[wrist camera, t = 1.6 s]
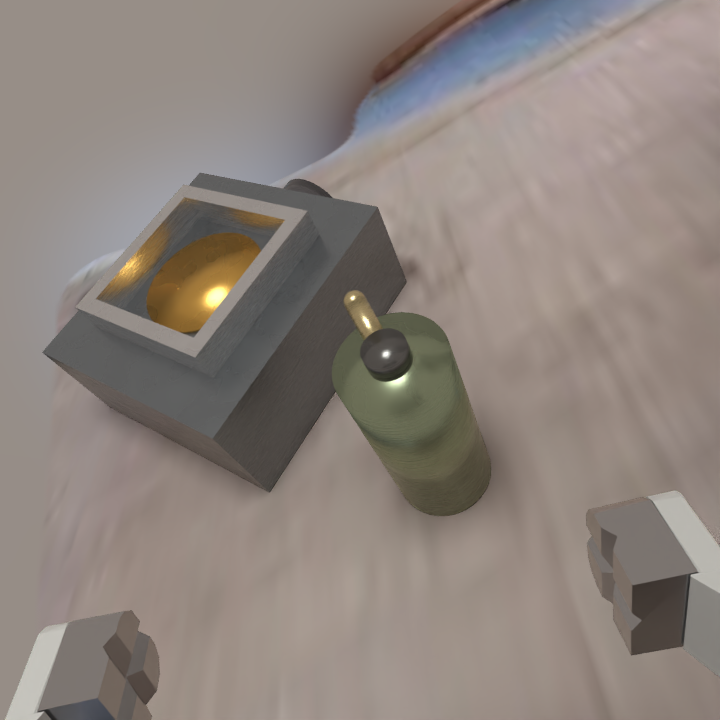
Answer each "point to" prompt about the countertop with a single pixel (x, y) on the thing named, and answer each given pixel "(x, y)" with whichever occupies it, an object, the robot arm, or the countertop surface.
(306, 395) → the gearbox housing
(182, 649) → the countertop surface
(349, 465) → the countertop surface
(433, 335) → the spout can
